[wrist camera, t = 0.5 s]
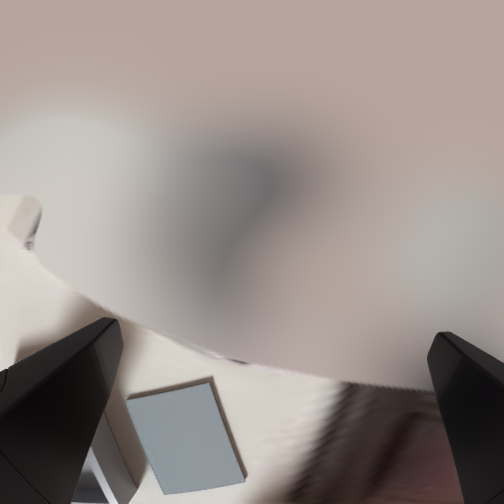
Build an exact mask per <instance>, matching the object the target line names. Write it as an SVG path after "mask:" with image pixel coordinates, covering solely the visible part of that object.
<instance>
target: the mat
mask: <svg viewBox="0 0 504 504" xmlns="http://www.w3.org/2000/svg"><path fill="white" fill-rule="evenodd" d="M125 402H126V405H127V408H128V411H129V414H130V416H131V419H132V422H133V424H134V427H135V430H136V432H137V435H138V437H139V440H140V442H141V445H142V447H143V450H144V452H145V454H146V457H147V459H148V461H149V463H150V466H151V468H152V470H153V472H154V475H155V477H156V479H157V481H158V483H159V485H160V487H161V489H162V491H163V493H164V495H167V494H177V493H185V492H193V491H200V490H206V489H212V488H218V487H223V486H229V485H234V484H239V483H243V482H245V477H244V475H243V472H242V470H241V467H240V465H239V462H238V460H237V457H236V454H235V452H234V449H233V447H232V444H231V441H230V439H229V436H228V433H227V430H226V428H225V425H224V422H223V419H222V416H221V414H220V411H219V408H218V405H217V402H216V399H215V396H214V393H213V390H212V387H211V384H210V382H207V383H203V384H199V385H195V386H190V387H186V388H182V389H177V390H173V391H168V392H163V393H159V394H154V395H149V396H143V397H138V398H133V399H127V400H126V401H125Z"/></svg>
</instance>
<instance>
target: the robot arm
mask: <svg viewBox="0 0 504 504" xmlns="http://www.w3.org/2000/svg"><path fill="white" fill-rule="evenodd" d="M122 351H123V340H122V335H121V331H120V326H119V322H118V320H116V319H114V318H107V317H103V318H101V319H99V320H97V321H95V322H93V323H91V324H90V325H88V326H86V327H84V328H82V329H80V330H78V331H76V332H74V333H72V334H71V335H69V336H67V337H65V338H63V339H61V340H59V341H57V342H55V343H53V344H52V345H50V346H48V347H46V348H44V349H42V350H40V351H38V352H36V353H35V354H33V355H31V356H29V357H27V358H25V359H23V360H21V361H20V362H18V363H16V364H14V365H12V366H10V367H9V368H8V369H4V370H3V371H1V372H0V504H71V502H72V499H73V496H74V493H75V490H76V487H77V484H78V481H79V478H80V475H81V472H82V469H83V466H84V463H85V460H86V457H87V455H88V452H89V449H90V446H91V443H92V441H93V438H94V435H95V433H96V430H97V427H98V425H99V422H100V420H101V417H102V414H103V412H104V409H105V407H106V404H107V402H108V399H109V396H110V393H111V390H112V387H113V383H114V379H115V376H116V372H117V369H118V365H119V362H120V358H121V355H122ZM427 362H428V366H429V370H430V374H431V379H432V383H433V387H434V392H435V396H436V400H437V404H438V407H439V411H440V414H441V417H442V420H443V423H444V427H445V430H446V433H447V437H448V440H449V444H450V447H451V451H452V455H453V458H454V462H455V466H456V470H457V474H458V478H459V482H460V487H461V491H462V496H463V501H464V504H504V363H503V362H501V361H499V360H497V359H496V358H494V357H493V356H491V355H489V354H488V353H486V352H484V351H482V350H481V349H479V348H477V347H476V346H474V345H472V344H470V343H468V342H467V341H465V340H464V339H462V338H460V337H458V336H457V335H455V334H453V333H451V332H439V333H437V334H436V336H435V338H434V340H433V343H432V345H431V348H430V350H429V352H428V356H427Z"/></svg>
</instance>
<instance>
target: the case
mask: <svg viewBox="0 0 504 504" xmlns="http://www.w3.org/2000/svg"><path fill="white" fill-rule="evenodd" d="M137 490H138V489H137V487H136V485H135V483H134V481H133V479H132V477H131V475H130V473H129V471H128V468H127V466H126V464H125V462H124V459H123V457H122V455H121V452H120V450H119V448H118V445H117V443H116V440H115V438H114V436H113V433H112V430H111V428H110V425H109V423H108V420H107V417H106V414H105V412H103V414H102V417H101V420H100V422H99V425H98V427H97V430H96V433H95V435H94V438H93V441H92V443H91V446H90V449H89V452H88V455H87V457H86V460H85V463H84V466H83V469H82V472H81V475H80V478H79V481H78V484H77V487H76V490H75V493H74V496H73V499H72V502H71V504H128V503H129V502H130V500H131V499H132V497H133V496H134V494H135V493H136V492H137Z"/></svg>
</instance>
